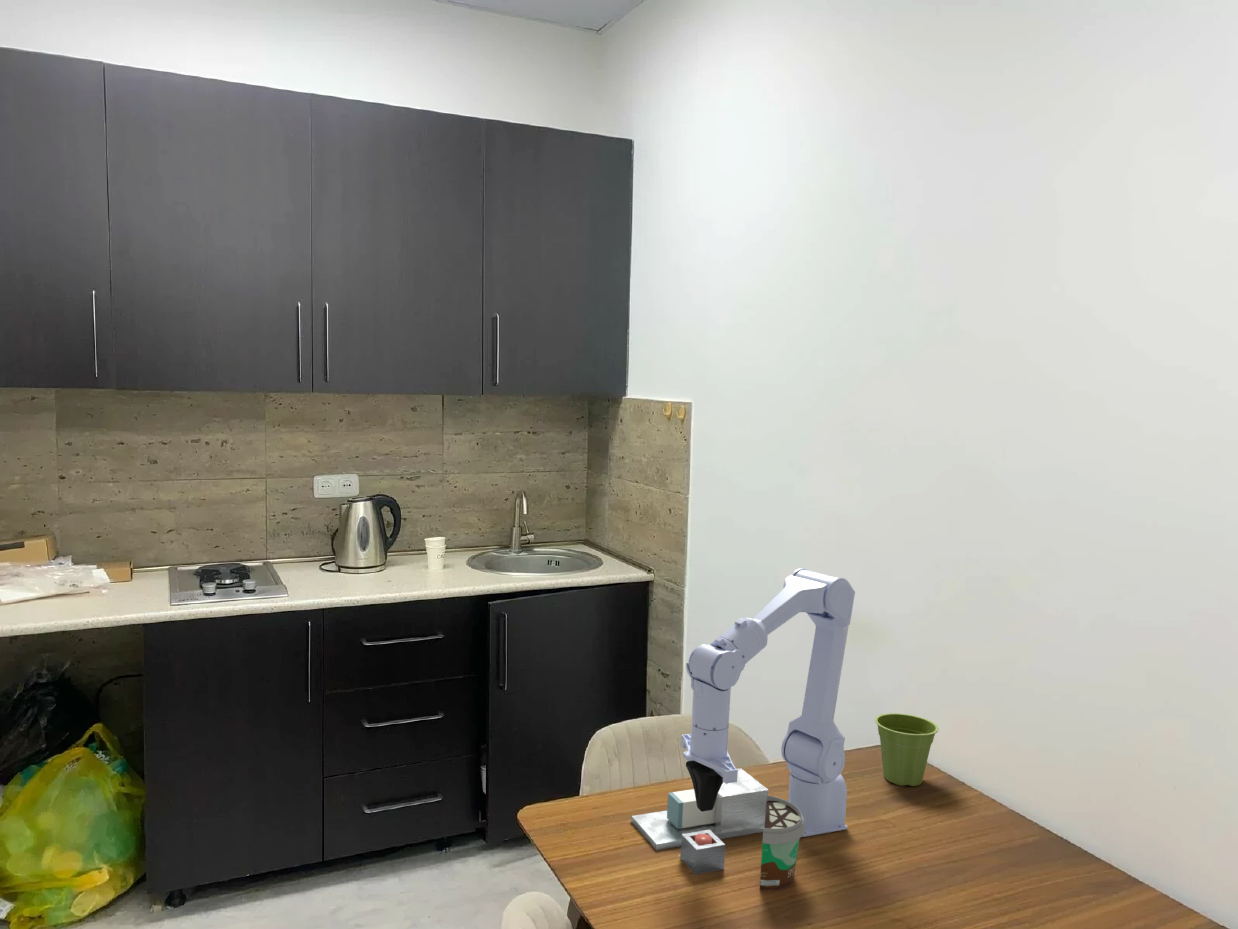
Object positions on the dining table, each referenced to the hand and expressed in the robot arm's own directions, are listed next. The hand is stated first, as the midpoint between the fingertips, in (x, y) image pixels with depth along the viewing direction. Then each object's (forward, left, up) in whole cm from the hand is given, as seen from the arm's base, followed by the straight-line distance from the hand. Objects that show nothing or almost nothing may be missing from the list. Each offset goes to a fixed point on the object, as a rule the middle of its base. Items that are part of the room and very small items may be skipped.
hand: (705, 809), depth 140 cm
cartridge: (-7, -11, -8) cm, 15 cm away
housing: (-6, -11, -9) cm, 15 cm away
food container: (-10, +7, -9) cm, 15 cm away
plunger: (0, 0, -9) cm, 9 cm away
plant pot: (-53, -16, -9) cm, 56 cm away
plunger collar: (0, 0, -9) cm, 9 cm away
